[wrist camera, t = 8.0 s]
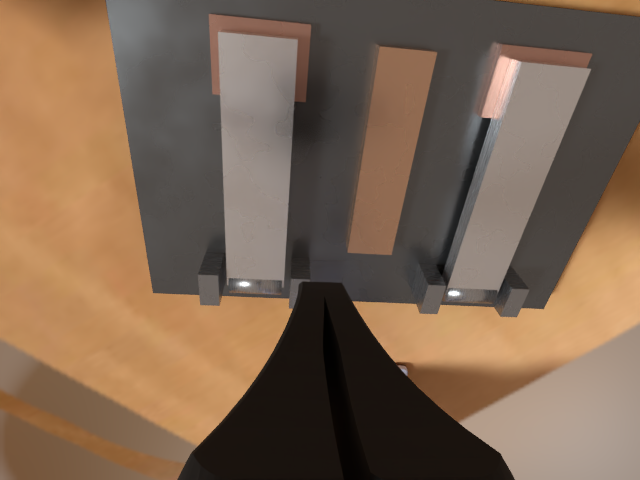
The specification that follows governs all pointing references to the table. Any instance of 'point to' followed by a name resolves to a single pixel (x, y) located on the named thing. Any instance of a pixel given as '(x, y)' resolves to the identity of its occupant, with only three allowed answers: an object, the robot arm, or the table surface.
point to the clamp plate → (368, 137)
